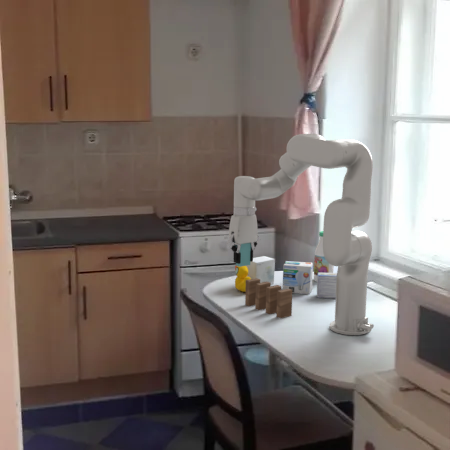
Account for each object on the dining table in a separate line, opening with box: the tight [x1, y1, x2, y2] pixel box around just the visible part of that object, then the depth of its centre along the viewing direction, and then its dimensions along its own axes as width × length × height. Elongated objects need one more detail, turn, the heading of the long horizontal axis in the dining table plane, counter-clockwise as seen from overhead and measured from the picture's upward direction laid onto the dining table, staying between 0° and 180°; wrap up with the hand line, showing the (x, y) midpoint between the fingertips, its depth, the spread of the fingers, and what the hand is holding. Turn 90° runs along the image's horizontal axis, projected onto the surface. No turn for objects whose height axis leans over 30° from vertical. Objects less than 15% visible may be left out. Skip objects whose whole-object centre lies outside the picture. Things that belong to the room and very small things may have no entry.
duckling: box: [234, 265, 251, 293], centre depth 261 cm, size 11×5×10 cm, turn 25°
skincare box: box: [247, 255, 276, 286], centre depth 270 cm, size 10×6×10 cm, turn 132°
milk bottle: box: [313, 230, 335, 282], centre depth 277 cm, size 8×8×20 cm
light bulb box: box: [281, 260, 314, 295], centre depth 262 cm, size 11×7×11 cm, turn 76°
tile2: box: [265, 284, 282, 315], centre depth 236 cm, size 2×5×9 cm, turn 128°
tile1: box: [276, 289, 293, 319], centre depth 232 cm, size 2×5×9 cm, turn 128°
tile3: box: [254, 282, 272, 311], centre depth 240 cm, size 2×5×9 cm, turn 128°
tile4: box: [244, 278, 260, 307], centre depth 244 cm, size 2×5×9 cm, turn 128°
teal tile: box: [235, 243, 251, 267], centre depth 246 cm, size 2×5×9 cm, turn 128°
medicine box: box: [316, 272, 337, 299], centre depth 255 cm, size 8×4×9 cm, turn 84°
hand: (243, 261), depth 247 cm, fingers closed on teal tile, 4 cm apart
